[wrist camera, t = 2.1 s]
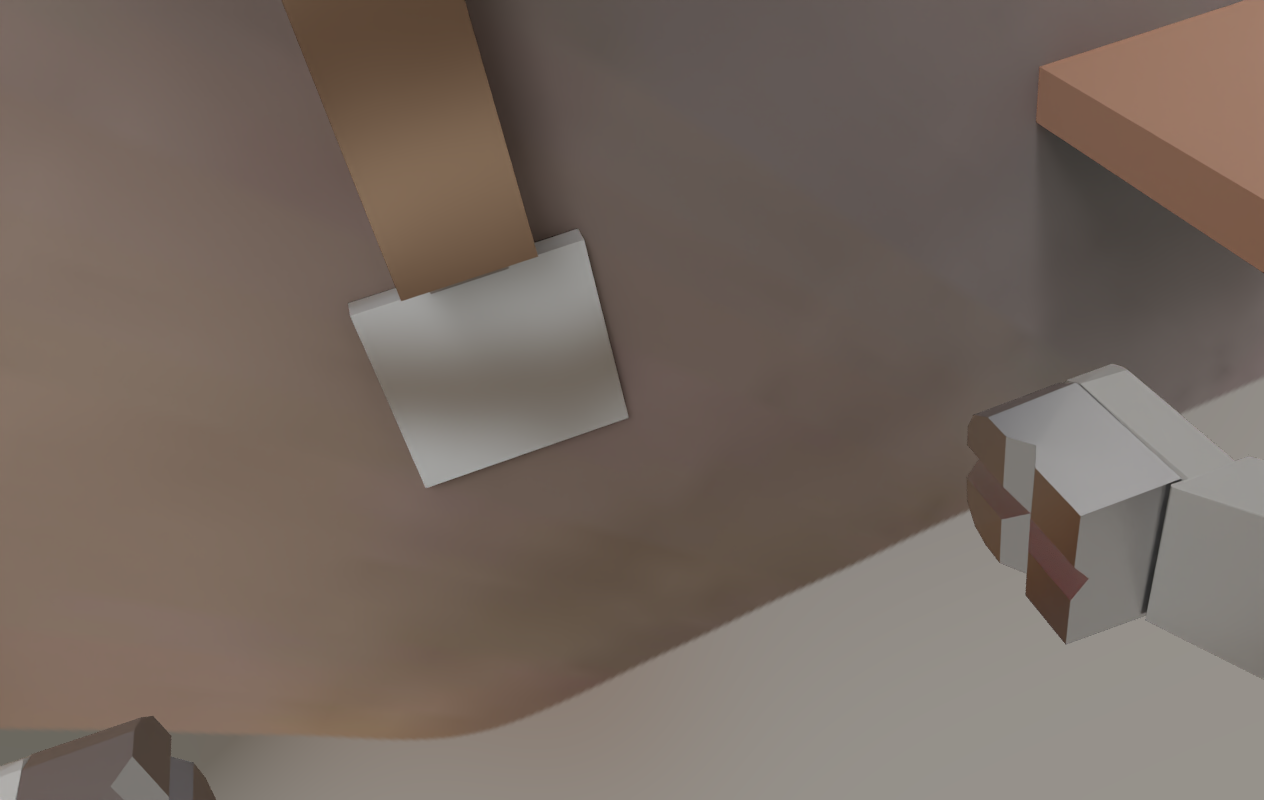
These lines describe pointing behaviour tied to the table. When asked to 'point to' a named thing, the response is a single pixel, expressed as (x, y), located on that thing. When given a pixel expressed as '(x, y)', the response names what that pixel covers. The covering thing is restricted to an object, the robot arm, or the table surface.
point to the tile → (1175, 118)
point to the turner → (455, 244)
